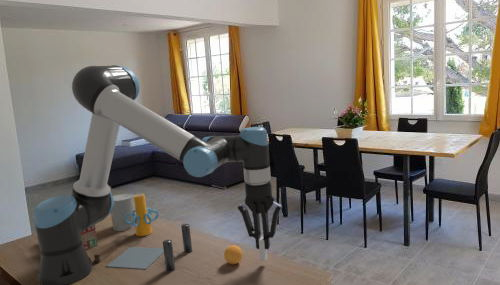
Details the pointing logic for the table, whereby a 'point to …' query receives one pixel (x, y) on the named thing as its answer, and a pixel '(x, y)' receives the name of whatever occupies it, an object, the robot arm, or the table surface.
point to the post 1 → (168, 255)
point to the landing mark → (137, 258)
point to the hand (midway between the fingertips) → (264, 258)
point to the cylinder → (141, 216)
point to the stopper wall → (105, 252)
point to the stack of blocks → (89, 237)
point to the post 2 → (186, 238)
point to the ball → (233, 254)
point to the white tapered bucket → (122, 211)
